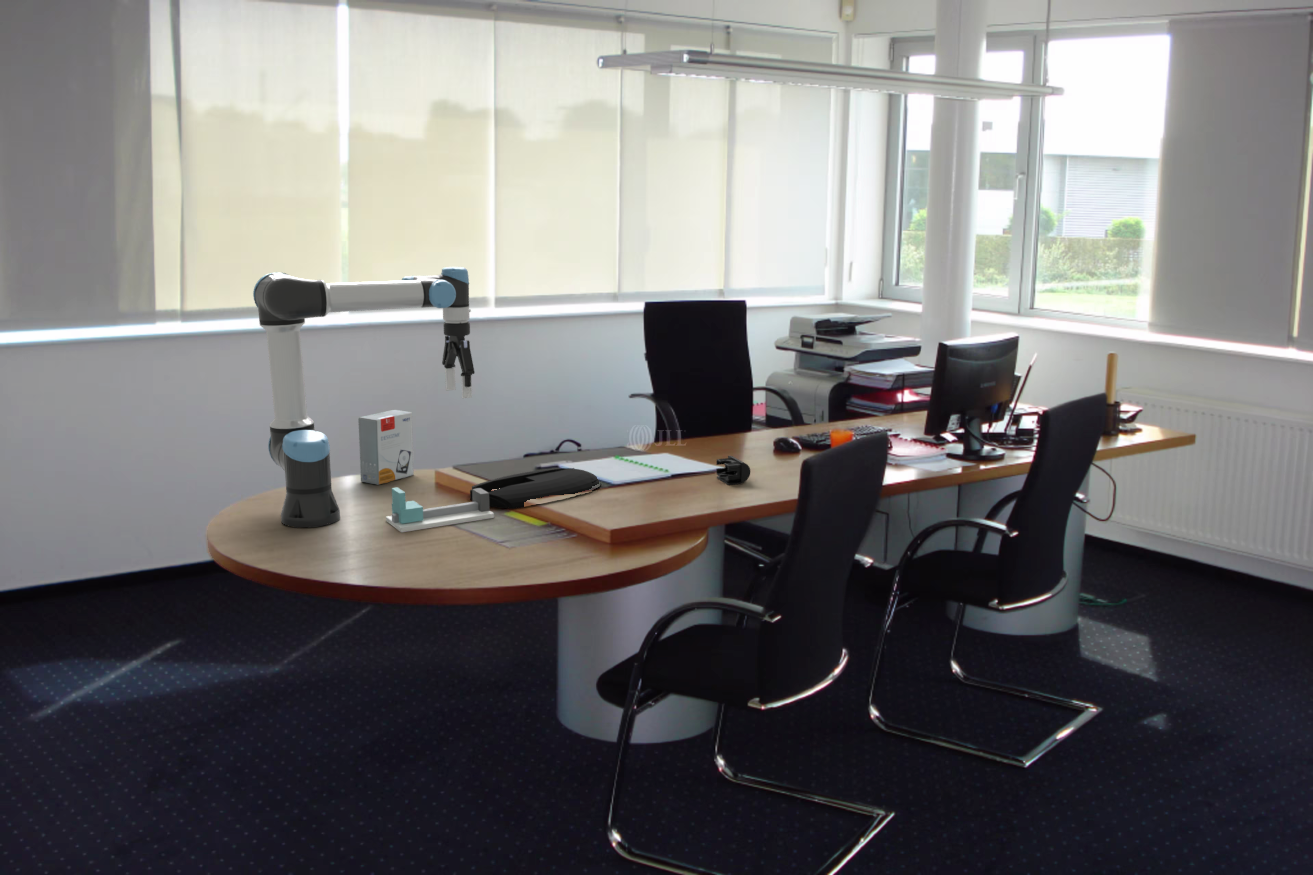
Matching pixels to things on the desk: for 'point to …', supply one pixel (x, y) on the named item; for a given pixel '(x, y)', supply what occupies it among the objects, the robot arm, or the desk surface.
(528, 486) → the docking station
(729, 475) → the black plastic connector
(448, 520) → the rail board
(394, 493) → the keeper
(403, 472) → the hard drive box
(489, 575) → the desk surface
